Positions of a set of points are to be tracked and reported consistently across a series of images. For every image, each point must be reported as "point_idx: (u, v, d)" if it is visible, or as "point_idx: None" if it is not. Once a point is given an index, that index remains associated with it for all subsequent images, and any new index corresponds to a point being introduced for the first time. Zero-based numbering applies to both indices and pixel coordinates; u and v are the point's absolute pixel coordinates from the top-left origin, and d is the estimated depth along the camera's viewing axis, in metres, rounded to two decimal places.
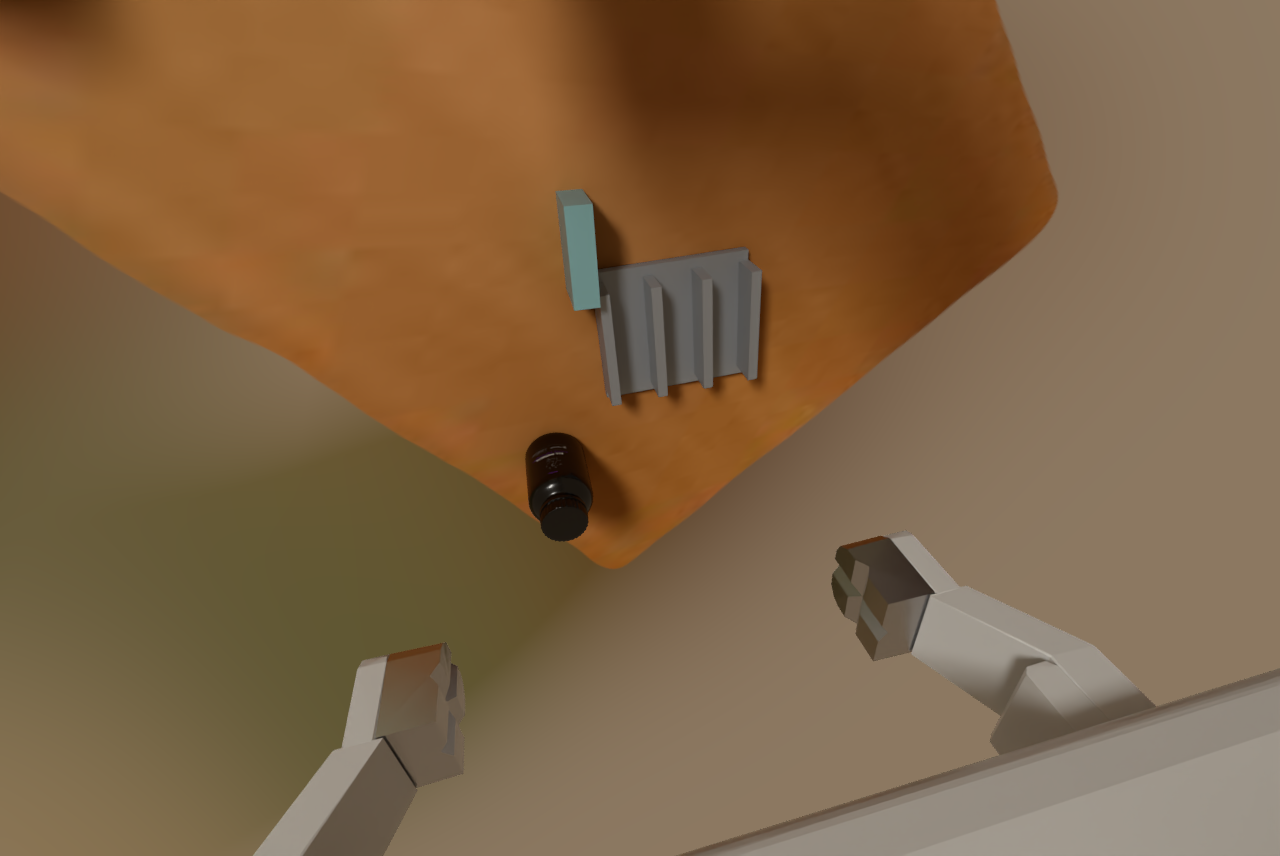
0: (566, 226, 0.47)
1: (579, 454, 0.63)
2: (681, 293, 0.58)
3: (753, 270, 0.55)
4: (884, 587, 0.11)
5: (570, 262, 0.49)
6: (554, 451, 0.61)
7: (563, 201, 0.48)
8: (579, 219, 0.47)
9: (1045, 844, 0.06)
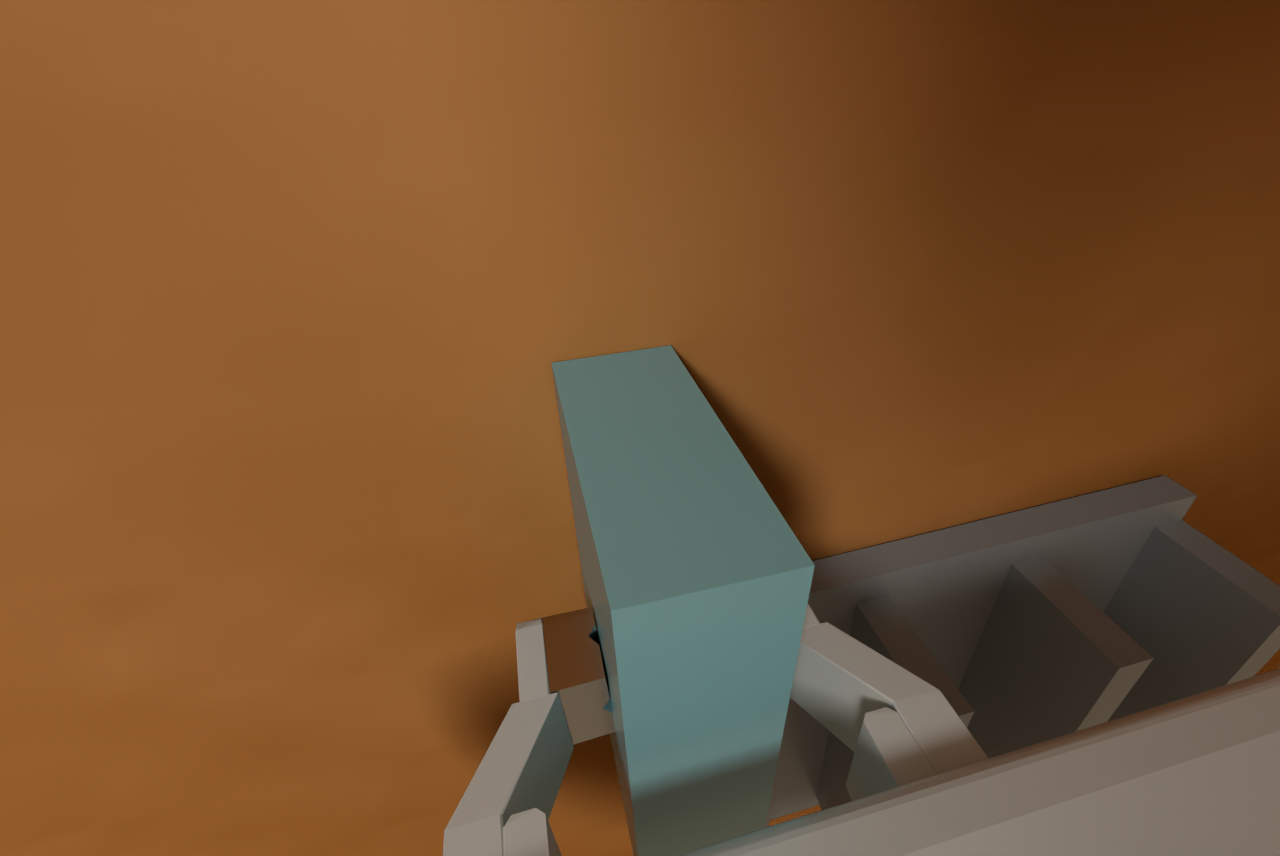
0: (625, 690, 0.07)
1: None
2: (958, 624, 0.18)
3: None
4: None
5: (638, 803, 0.09)
6: None
7: (601, 503, 0.08)
8: (713, 649, 0.07)
9: (1045, 844, 0.06)
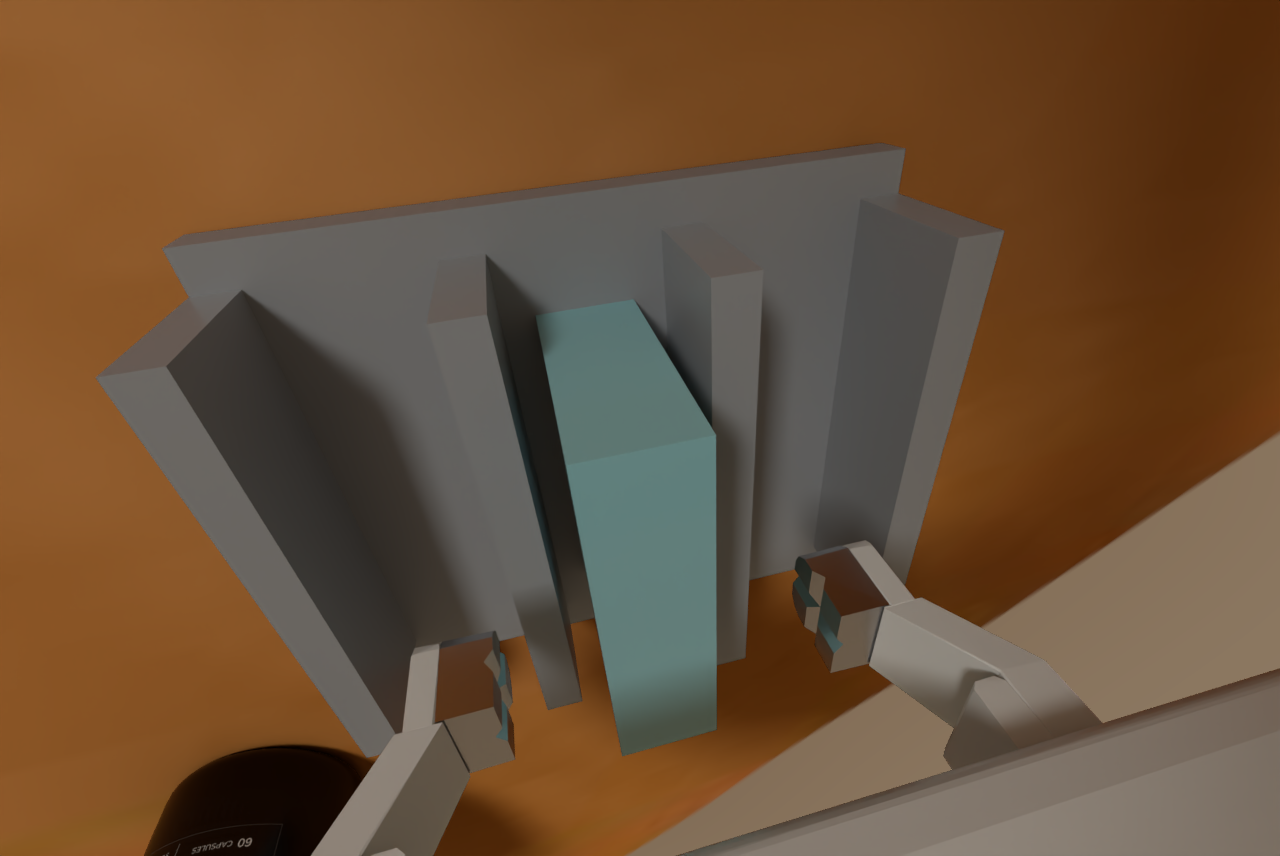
0: (584, 537, 0.10)
1: (304, 849, 0.19)
2: None
3: (961, 232, 0.11)
4: (839, 599, 0.11)
5: (606, 646, 0.11)
6: None
7: (565, 404, 0.10)
8: (647, 504, 0.10)
9: (1045, 844, 0.06)
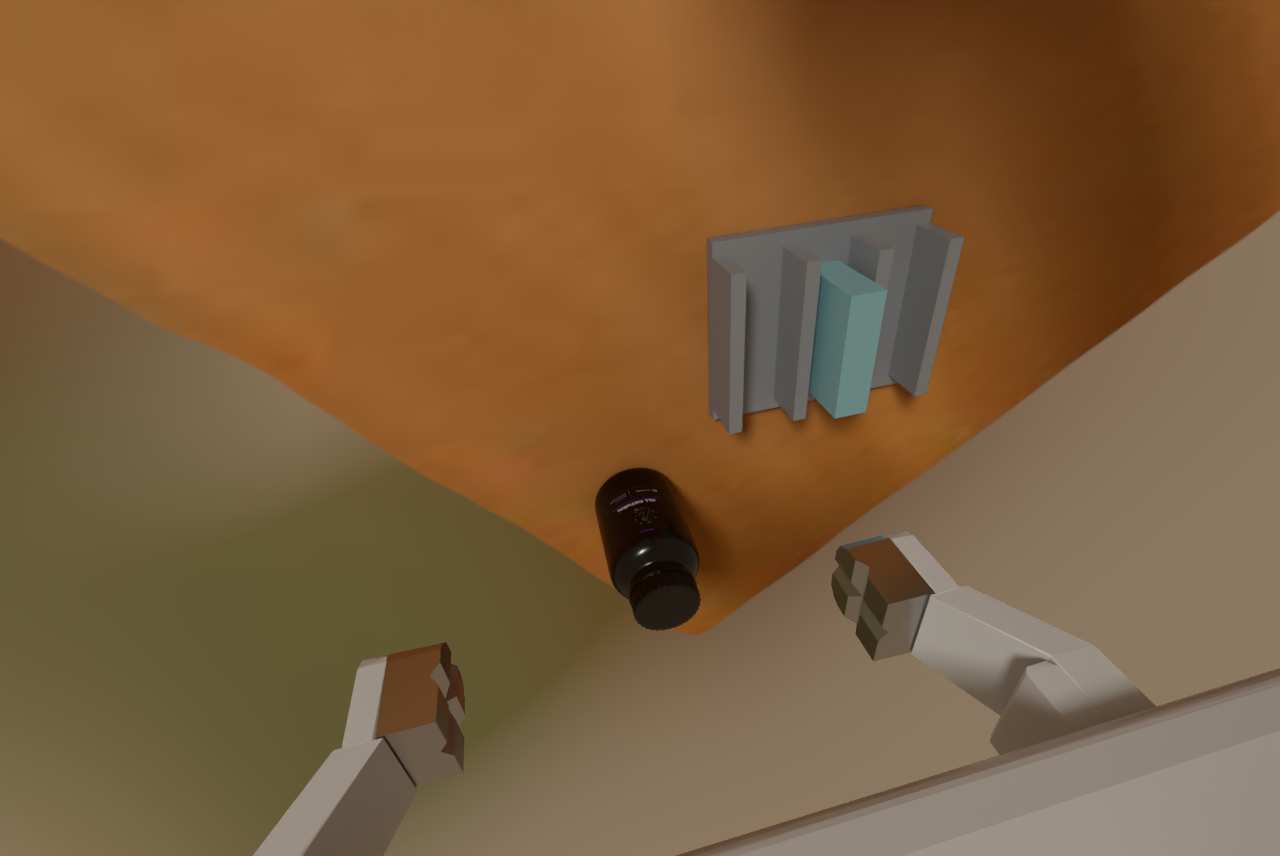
0: (849, 320, 0.36)
1: (673, 499, 0.45)
2: None
3: (951, 237, 0.37)
4: (884, 587, 0.11)
5: (843, 363, 0.37)
6: (643, 497, 0.44)
7: (840, 286, 0.36)
8: (867, 310, 0.36)
9: (1045, 844, 0.06)
